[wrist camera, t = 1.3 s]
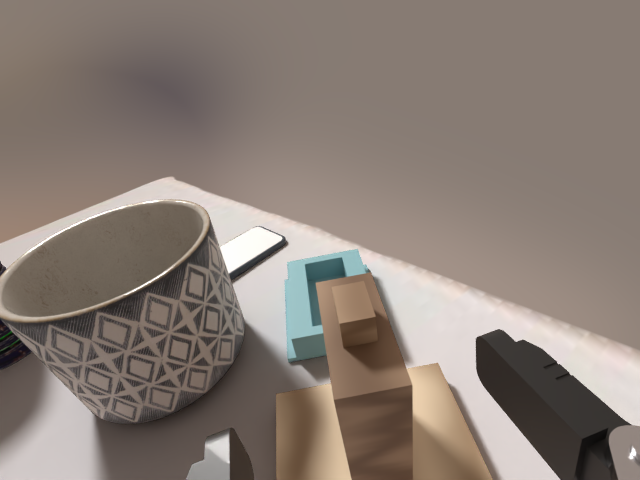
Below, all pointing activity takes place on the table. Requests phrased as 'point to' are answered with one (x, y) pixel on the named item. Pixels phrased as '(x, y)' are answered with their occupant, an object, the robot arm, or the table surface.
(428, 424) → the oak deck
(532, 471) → the table surface
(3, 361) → the storage jar
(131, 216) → the planter
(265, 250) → the phone case
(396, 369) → the brown wooden bottle
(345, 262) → the teal rack
